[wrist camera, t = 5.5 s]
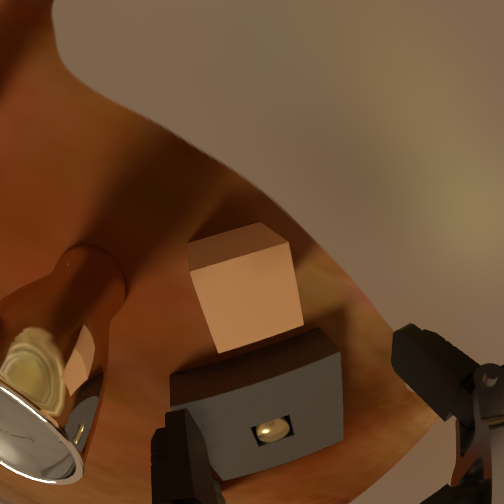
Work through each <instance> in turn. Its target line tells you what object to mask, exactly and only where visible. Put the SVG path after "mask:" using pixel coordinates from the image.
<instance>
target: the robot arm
mask: <svg viewBox="0 0 504 504" xmlns="http://www.w3.org/2000/svg"><path fill="white" fill-rule="evenodd" d="M391 363H392V367H393V369H394V371H395V372H396V373H397V375H398V376H400V377H401V378H402V379H403V380H404V381H405V382H406V383H407V384H408V385H409V386H410V387H411V388H412V389H413V390H414V391H415V392H416V393H417V394H418V395H419V396H420V397H421V398H422V399H423V400H424V401H425V402H426V403H427V404H428V405H429V406H430V407H431V408H432V409H433V410H434V411H435V412H436V413H437V414H438V415H439V416H440V417H441V418H442V419H443V421H444V422H445V421H447V420H448V419H449V418H451V416H453V415H454V416H455V417H456V418H457V419H456V465H455V468H454V471H453V475H452V479H451V487H450V486H449V485H448V484H446V485H445V486H444V487H442V488H441V489H440V490H438V491H437V492H435V493H434V494H433V495H431V496H430V497H428V498H427V499H425V500H424V501H423V502H421V503H420V504H504V365H502V366H499V365H497V364H494V363H487V364H483V365H479V364H478V363H476V362H475V361H474V360H473V359H471V358H470V357H468V356H467V355H466V354H465V353H463V352H462V351H460V350H459V349H458V348H456V347H455V346H454V347H453V345H452V344H451V343H450V342H448V341H446V340H445V339H444V338H443V337H441V336H440V335H438V334H437V333H435V332H432V331H429V330H425V329H424V330H423V331H422V330H421V329H420V328H418V327H417V326H415V325H414V324H411V323H410V324H408V325H406V326H404V327H402V328H401V329H398V330H397V331H395V332H394V333H393V342H392V356H391ZM151 455H152V456H151V464H152V466H151V485H152V504H218V501H217V497H216V492H215V487H214V482H213V477H212V472H211V467H210V462H209V457H208V451H207V446H206V442H205V439H204V436H203V434H202V432H201V430H200V429H199V427H198V426H197V424H196V422H195V421H194V419H193V417H192V416H191V414H190V412H189V411H188V409H187V408H184V409H180V410H175V411H171V412H166V414H165V427H164V428H159V429H156V431H155V433H154V435H153V437H152V440H151Z"/></svg>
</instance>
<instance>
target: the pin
mask: <svg viewBox="0 0 504 504" xmlns="http://www.w3.org/2000/svg"><path fill="white" fill-rule="evenodd" d="M254 427H255V430H256V433H257V436H258V438H259V439H260V440H261V441H264V442H272V441H276V440H279V439H281V438H282V437H284V436H285V435H286V434H287V433H288V432H289V425H288V423H287V421H286V419H285V417H284V416H283V417H281V418H278V419H275V420H272V421H269V422H266V423H263V424H260V425H257V426H254Z"/></svg>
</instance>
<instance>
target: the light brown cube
mask: <svg viewBox="0 0 504 504" xmlns="http://www.w3.org/2000/svg"><path fill="white" fill-rule="evenodd" d="M187 249H188V260H189V271H190V274H191V278H192V281H193V283H194V286H195V289H196V292H197V295H198V298H199V301H200V304H201V307H202V310H203V312H204V315H205V318H206V321H207V324H208V326H209V329H210V332H211V334H212V337H213V340H214V343H215V345H216V348H217V350H218V353H222V352H225V351H228V350H231V349H235V348H238V347H241V346H244V345H247V344H250V343H253V342H256V341H259V340H262V339H265V338H268V337H271V336H274V335H277V334H280V333H283V332H285V331H288V330H291V329H294V328H297V327H299V326H302V325H304V323H303V317H302V311H301V306H300V300H299V294H298V289H297V283H296V278H295V272H294V267H293V262H292V257H291V251H290V246H289V242H288V241H287V240H285V239H284V238H282V237H281V236H280V235H278V234H277V233H275V232H274V231H272V230H271V229H270V228H268V227H267V226H265V225H264V224H262V223H261V222H258V223H255V224H251V225H248V226H244V227H241V228H237V229H234V230H230V231H227V232H223V233H220V234H217V235H213V236H210V237H206V238H203V239H200V240H196V241H193V242H190V243H187Z"/></svg>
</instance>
